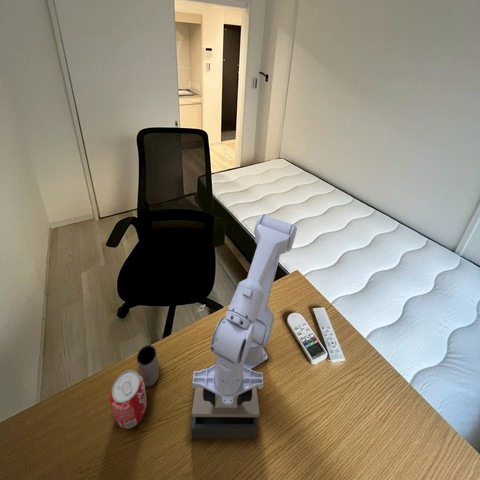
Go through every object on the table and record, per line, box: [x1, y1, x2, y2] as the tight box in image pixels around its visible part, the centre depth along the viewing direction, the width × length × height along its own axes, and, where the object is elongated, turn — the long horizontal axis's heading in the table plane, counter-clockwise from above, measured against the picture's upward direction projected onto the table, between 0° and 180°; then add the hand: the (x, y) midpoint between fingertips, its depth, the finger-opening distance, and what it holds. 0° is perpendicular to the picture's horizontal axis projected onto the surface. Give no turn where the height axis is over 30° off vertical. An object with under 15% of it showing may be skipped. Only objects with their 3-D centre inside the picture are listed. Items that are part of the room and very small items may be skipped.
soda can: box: [109, 369, 148, 430], centre depth 56 cm, size 7×7×12 cm
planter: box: [136, 344, 160, 388], centre depth 63 cm, size 4×4×10 cm
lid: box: [191, 386, 261, 418], centre depth 57 cm, size 11×15×4 cm
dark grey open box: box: [190, 417, 258, 440], centre depth 59 cm, size 10×15×5 cm
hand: (226, 399), depth 54 cm, fingers closed on lid, 5 cm apart
